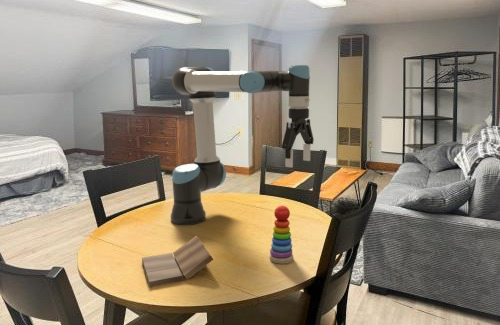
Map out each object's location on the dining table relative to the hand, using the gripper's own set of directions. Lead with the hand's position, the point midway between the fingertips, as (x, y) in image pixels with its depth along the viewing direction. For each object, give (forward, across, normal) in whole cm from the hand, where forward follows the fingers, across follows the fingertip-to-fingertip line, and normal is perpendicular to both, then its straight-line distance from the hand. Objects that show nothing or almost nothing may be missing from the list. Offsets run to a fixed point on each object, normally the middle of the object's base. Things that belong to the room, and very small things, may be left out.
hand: (298, 163), depth 160 cm
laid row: (+28, -54, +19) cm, 63 cm away
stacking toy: (+28, -25, -8) cm, 38 cm away
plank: (+25, -45, +13) cm, 53 cm away
